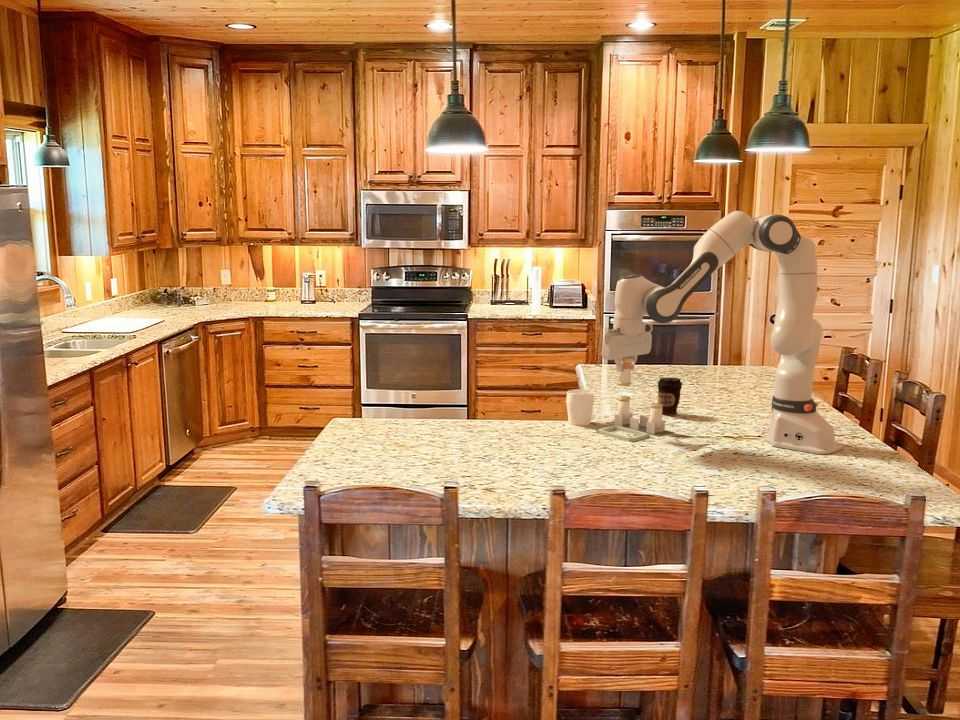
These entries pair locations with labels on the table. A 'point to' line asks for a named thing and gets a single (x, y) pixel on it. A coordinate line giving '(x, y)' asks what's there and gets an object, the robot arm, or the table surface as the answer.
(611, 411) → the table surface
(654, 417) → the fuse
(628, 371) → the fuse marked
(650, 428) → the fuse block
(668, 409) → the coffee cup
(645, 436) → the tray
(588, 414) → the cup
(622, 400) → the fuse
